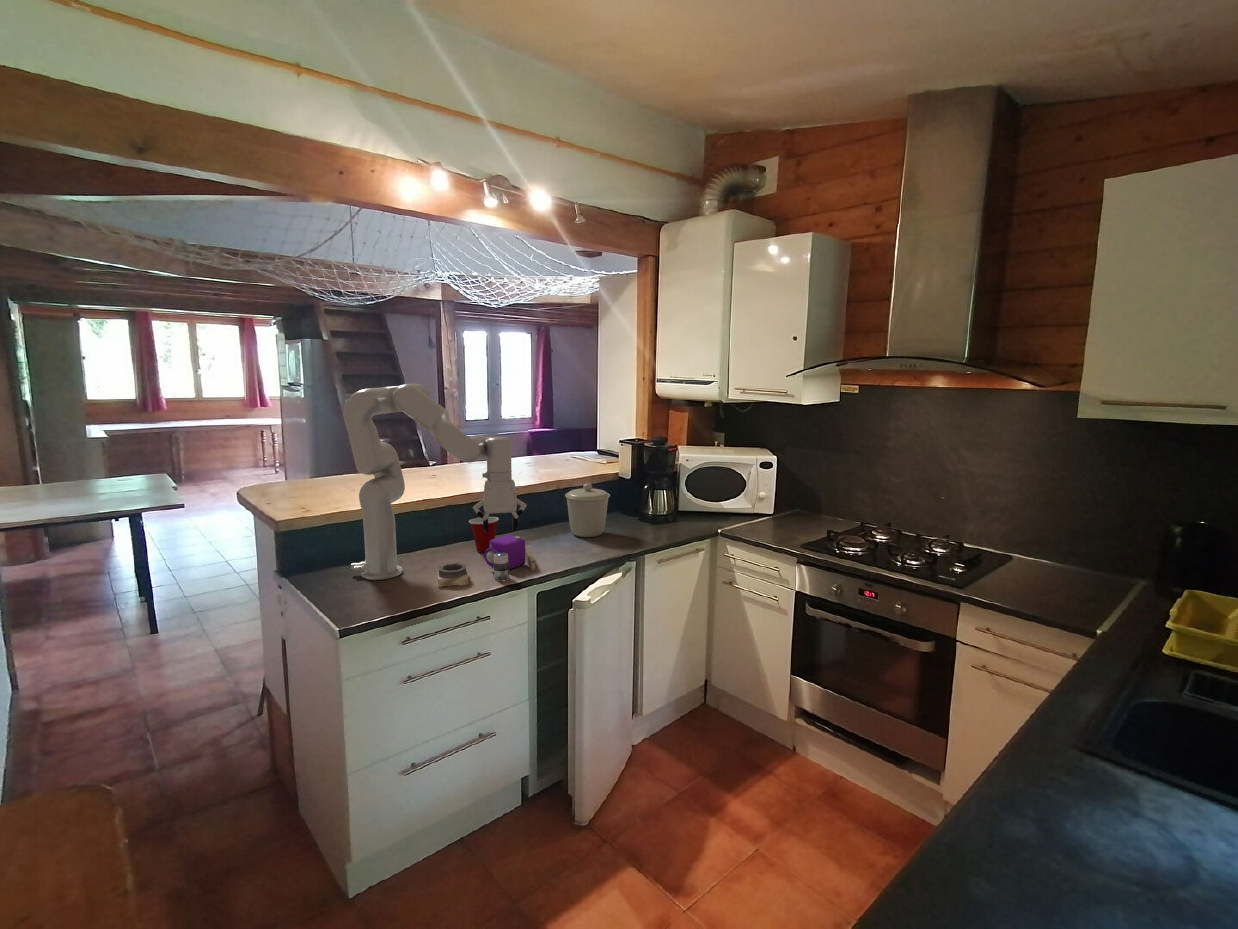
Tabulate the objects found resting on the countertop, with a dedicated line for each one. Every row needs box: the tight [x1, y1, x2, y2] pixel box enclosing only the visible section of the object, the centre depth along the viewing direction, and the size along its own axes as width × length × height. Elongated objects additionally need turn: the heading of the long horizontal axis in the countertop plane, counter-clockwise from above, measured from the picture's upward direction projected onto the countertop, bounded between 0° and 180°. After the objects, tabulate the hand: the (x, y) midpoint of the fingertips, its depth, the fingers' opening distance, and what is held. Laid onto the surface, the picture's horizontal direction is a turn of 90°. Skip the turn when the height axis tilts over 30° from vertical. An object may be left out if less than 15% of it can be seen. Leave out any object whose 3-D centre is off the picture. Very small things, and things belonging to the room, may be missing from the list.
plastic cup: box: [468, 516, 500, 553], centre depth 224 cm, size 11×11×12 cm
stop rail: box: [525, 547, 536, 571], centre depth 210 cm, size 2×14×4 cm, turn 16°
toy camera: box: [484, 534, 526, 571], centre depth 206 cm, size 11×14×10 cm
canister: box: [564, 483, 611, 538], centre depth 246 cm, size 18×18×21 cm
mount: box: [437, 562, 469, 588], centre depth 192 cm, size 9×9×4 cm
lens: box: [492, 553, 510, 582], centre depth 195 cm, size 5×5×8 cm
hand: (500, 530), depth 193 cm, fingers open, 8 cm apart
